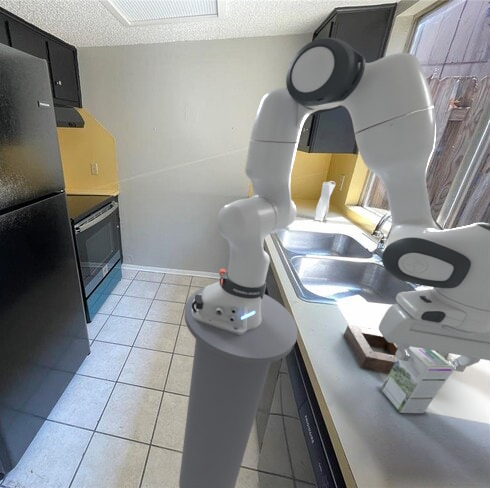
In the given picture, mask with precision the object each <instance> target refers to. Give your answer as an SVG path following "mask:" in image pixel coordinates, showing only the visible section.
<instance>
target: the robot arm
mask: <svg viewBox="0 0 490 488" xmlns="http://www.w3.org/2000/svg"><path fill="white" fill-rule="evenodd" d="M366 61H367V60H366V57H365V56H364V55H363V54H361V52H359V51H358V50H356V49H355V48H353V47H352V46H351V45H350V44H348V43H347V42H346V41H344V40H342V39H339V38H335V37H321V38H317V39H315V40H314V39H313V40H312V41H310V42H308V43H306V45H304V46H303V47H301V49H299V50H298V52H297V53H296V54H295V55H294V57H293V58H292V60H291V62H290V64H289V66H288V68H287V71H286V77H285V85H286V87H277V88H275V89H272V90H270V91H268V92H267V93H265V94H264V95H263V96H262V98H261V100H260V102H259V105H258V107H257V110H256V114H255V117H254V120H253V124H252V127H251V133H250V137H249V138H250V139H249V143H248V150H247V155H246V161H245V167H244V173H245V175H246V177H247V178H248V179H249V180H250V181H251V185H252V195H251V197H248V198H241V199H237V200H234V201H232V202H229V203H227V204H226V205H224V206H222V207H221V209H220V210H219V212H218V214H217V219H216V224H217V229H218V231H219V233H220V235H221V236H222V237H223V238H224V239H225V240H226V241H227V242H228V246H229V263H228V270H226V269H225V268H220V269H219V274H218V275H219V281H216V282H213V283H210V284H208V285H205V287H203V288H204V290H203V291H202V293H201V294H199V295H195V299H194V301H193V303H192V309H191V312H192V316H193V318H194V319H195V320H197V321H200V322H203V323H206V324H209V325H212V326H215V327H217V328H220V329H223V330H226V331H229V332H232V333H235V334H238V335H242V334H244V333H245V332H246V331H248V330H251V329H254V328H257V327H258V326H259V325H260V324H261V322H262V317H261V301H262V299H263V295H264V294H266V293H265V292H266V288H267V281H266V279H267V275H268V271H269V267H270V263H271V258H270V255H269V254H268V253H267V252H266V250H264V242H265V239H266V237H267V236H269V235H273V234H276V233H280V232H281V231H284V230H285V229H286V228H288V227H290V225H292V224H293V223H294V221H295V220H296V218H297V206H296V204H295V201H293V200H292V191H291V180H292V172H293V167H294V163H295V158H296V155H297V154H296V153H297V149H298V145H299V142H300V137H301V132H302V129H303V126H304V123H305V121H306V120H307V119H308V117H309V116H316V115H319V114H322V113H327V112H331V111H334V110H337V109H339V108H341V107H344V108H345V109H346V110H347V111H348V113H349V115H350V118H351V121H352V128H353V132H354V139H355V142H356V143H355V144H356V146H357V150H358V152H359V155H360V157H361V159H362V161H363V164H364V165H365V168H367V169H368V170H370V171H371V172H372V173H373V174H374V175H376V176H377V178H378V179H379V180H380V181H381V183H382V185H383V187H384V189H385V191H386V197H387V202H388V206H389V207H388V208H389V212H390V217H391V227H390V228H389V231H388V234H387V236H386V241H385V246H384V248H383V252H382V255H381V263H382V265H383V268H384V270H386V272H387V273H388V274H389V275H390V276H392V277H393V278H395V279H397V280H400V281H401V282H404V283H409V284H414V285H419V286H424V287H429V288H426V289H419V290H410V291H400V292H398V293H397V294H396V297H395V300H396V302H397V303H394V304H392V305H391V306H389V307H388V309H387V310H386V311H385V313H384V315H383V316H382V318H381V320H380V322H379V325H378V331H380V332H381V334H382V335H383V337H384V338H385V339H386V340H387V341H388V342H389V343H394V344H396V346H397V348H398V349H397V351H396V353H395V355H396V357H397V358H398V360H402V361H408V359H410V357H411V356H410V355H409V354H408V352H407V351H406V350H405V349H409V347H410V346H411V347H417V348H422V349H428V350H434V351H439V352H445V353H449V354H452V355H456V356H458V357H456V358H452V357H451V358H450V359H449V361H448V362H449V363H451V364H452V365H453V366H454V367H455V368H454V370H453V371H455V372H459V373H463V372H464V371H465V370H466V368H467V367H471V366H472V365H475V364H478V363H479V362H480V361H481V360H485V361H489V362H490V223H489V222H475V223H472V224H470V225H465V226H461V227H460V226H459V227H455V228H448V229H444V228H443V227H442V226H441V225H440V223H439V222H437V220H436V219H435V218H434V216H433V213H432V209H431V203H430V198H429V192H428V186H427V170H428V166H429V163H430V160H431V157H432V156H433V152H434V150H435V144H436V134H437V122H436V120H437V119H436V110H435V105H434V100H433V95H432V91H431V88H430V87H431V86H430V84H429V81H428V78H427V75H426V74H425V71H424V68H423V67H422V64H421V62H420V61H419V59H418V57H417V56H416V55H414V54H412V53H409V52H398V53H393V54H389V55H386V56H384V57H380V58H379V59H377V60H374V61H371V62H366Z"/></svg>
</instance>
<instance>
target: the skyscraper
mask: <svg viewBox="0 0 490 488" xmlns="http://www.w3.org/2000/svg"><path fill="white" fill-rule="evenodd" d="M321 186H322V187H321V193H320V197H319V200H318V202H317V205H316V209H315V213H314V219H313V220H314V222H315V221H316V222H321V223H326V221H327V217H328V213H329V210H330V204H331V203H330V199H331V195H332V193H333V192H334V190H335V187H336V182H335V181H333V180H330V181H324V182H323V183H322V185H321Z"/></svg>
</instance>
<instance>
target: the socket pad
mask: <svg viewBox="0 0 490 488" xmlns="http://www.w3.org/2000/svg"><path fill="white" fill-rule="evenodd" d="M343 337H344V339H345V341H346V343H347V344H348V346H349V349H350V351H351V352H352V355H353V356H354V357H355V359H356V361H357V363H358V365H359V368H360V369H365V370H368V371H369V370H370V371H375V372H379V373H384V374H387V375H389V373H390V371H391V370H392V368H393V366H394V364H395V362H396V361H397V359H398V358H397V357H396V355H395V353H396V351H397V349H398V348H397V346H396V344H394V343H389V342H388V341H387V340H386V339H385V338H384V337H383V335H382V334H381V332H380V331H379V329H372V328H366V327H361V326H355V325H349V324H347V326H346V329H345V331H344V333H343ZM372 347H374V348H379V349H383V350H384V351H385V352H386V353H383V352H379V351H374V350H373V349H372Z"/></svg>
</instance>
